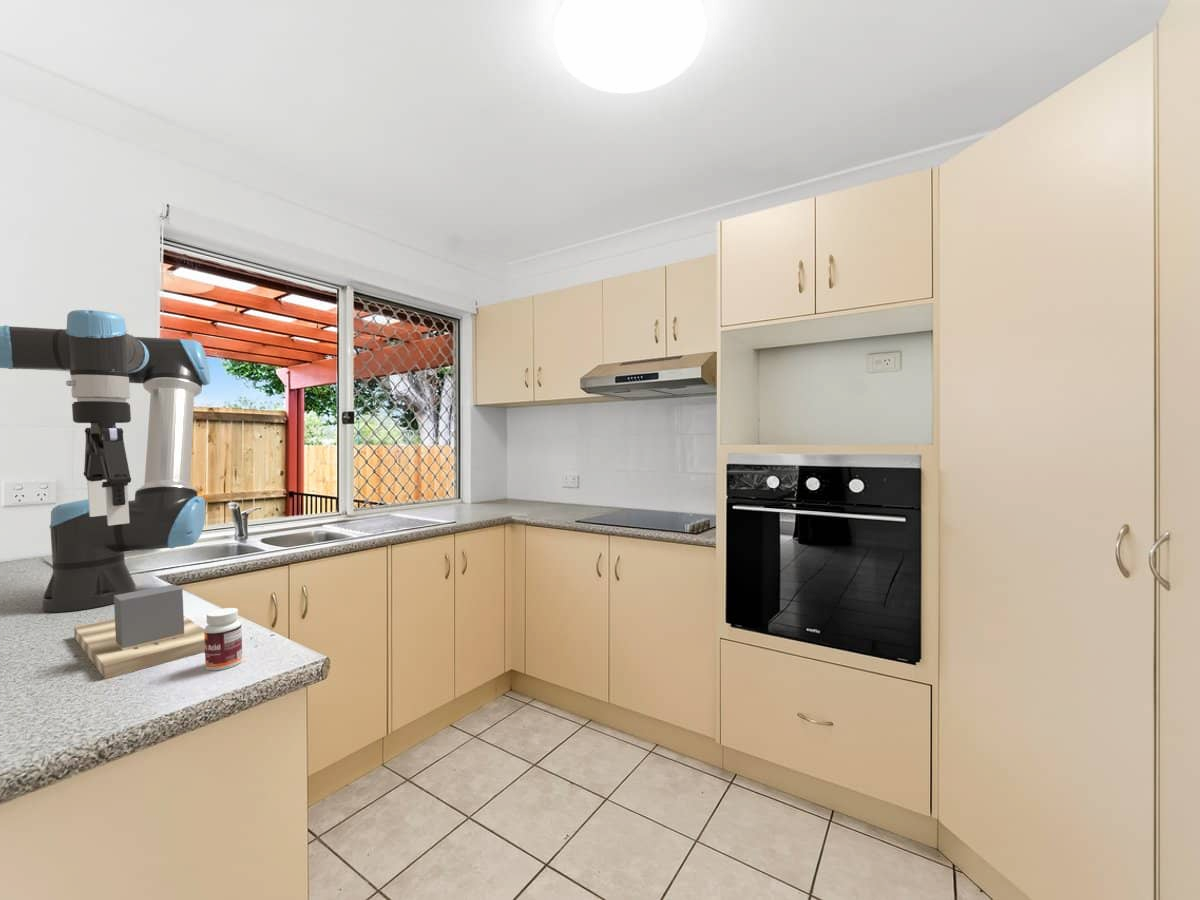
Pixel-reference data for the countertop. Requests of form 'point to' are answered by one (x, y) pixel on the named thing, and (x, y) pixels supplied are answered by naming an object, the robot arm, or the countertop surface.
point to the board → (135, 648)
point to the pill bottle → (223, 639)
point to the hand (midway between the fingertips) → (108, 520)
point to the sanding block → (148, 616)
